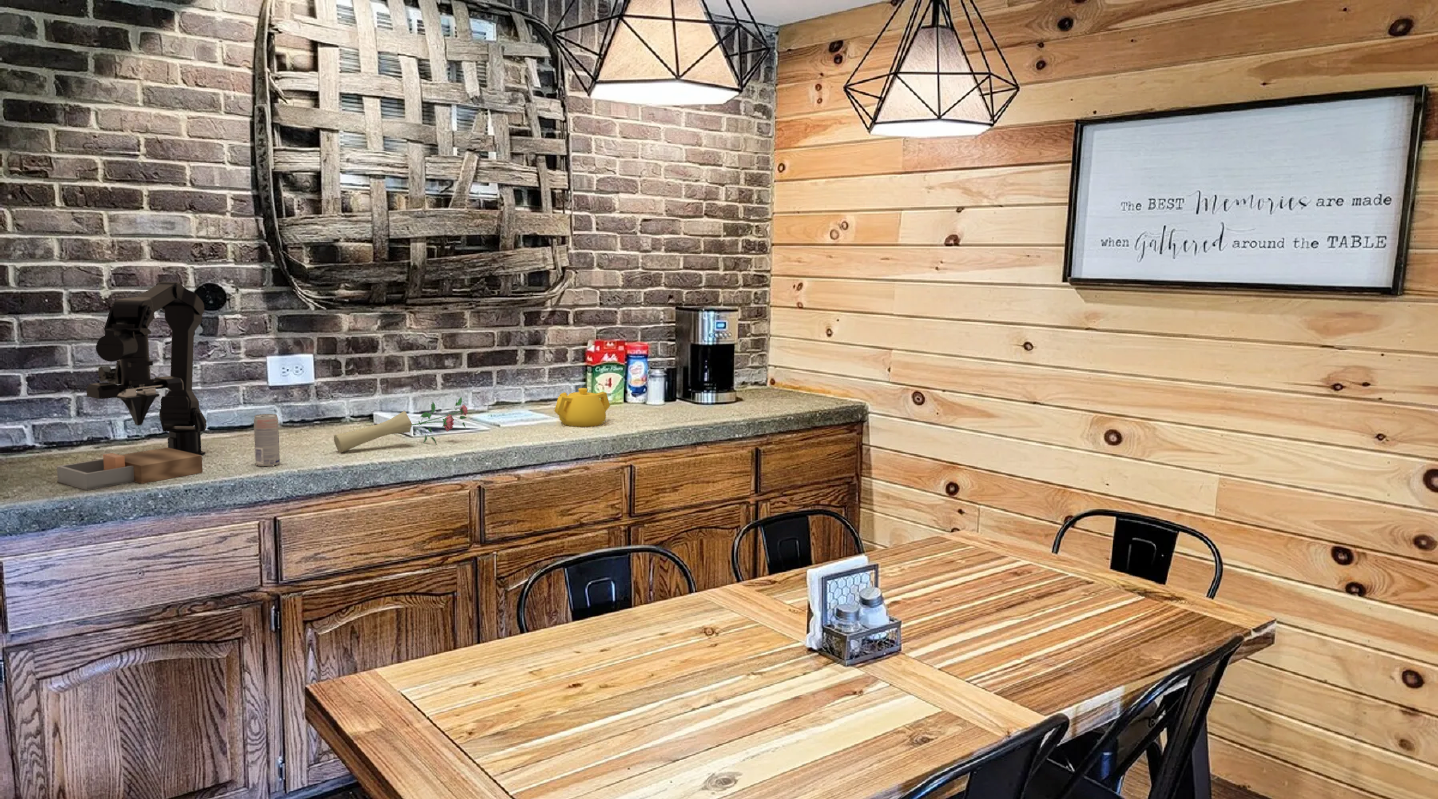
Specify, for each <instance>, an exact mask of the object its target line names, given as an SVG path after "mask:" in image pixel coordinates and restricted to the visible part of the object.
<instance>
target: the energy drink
mask: <svg viewBox="0 0 1438 799" xmlns="http://www.w3.org/2000/svg"><path fill="white" fill-rule="evenodd" d="M253 431H254V433H253V435H254V459H255V461H254V462H255V465H256V466H257V465H258V467H260V466H270V467H274V466H273V465H276V466H278V465H279V464H280V463H281V460H280V431H279V417H278V415H277V414H274V413H262V414H261V413H260V414H256V415H254V418H253Z"/></svg>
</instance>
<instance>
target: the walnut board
mask: <svg viewBox="0 0 1438 799" xmlns="http://www.w3.org/2000/svg"><path fill="white" fill-rule="evenodd" d="M121 455H122V456H125V467H127V466H133V467H134V482H133V483H138V484H146V483H153V482H159V481H164V480H168V479H174V478H180V477H185V476H191V475H195V474H200V473H203V472H204V471H203V469H204V468H203V456H202V455H203V454H202V455H198V454H193V453H189V452H185V451H180V450H176V449H172V448H168V446H166V447H160V448H155V449H149V450H143V451H137V452H136V451H135V452H130V453H125V454H121Z"/></svg>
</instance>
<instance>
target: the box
mask: <svg viewBox="0 0 1438 799" xmlns="http://www.w3.org/2000/svg"><path fill="white" fill-rule="evenodd" d="M56 477H57V482H58V483H60V484H64V485H67V486H71V487H74V488H78V489H82V490H85V491H91V490H96V489H101V488H106V487H112V486H118V485H123V484H127V483H135V482H134V467H133V466H127V467H121V468H115V469H109V470H104V462H103V458H100V459H93V460H87V461H81V462H75V463H70V464H69V463H68V464H61V465H57V466H56Z"/></svg>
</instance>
